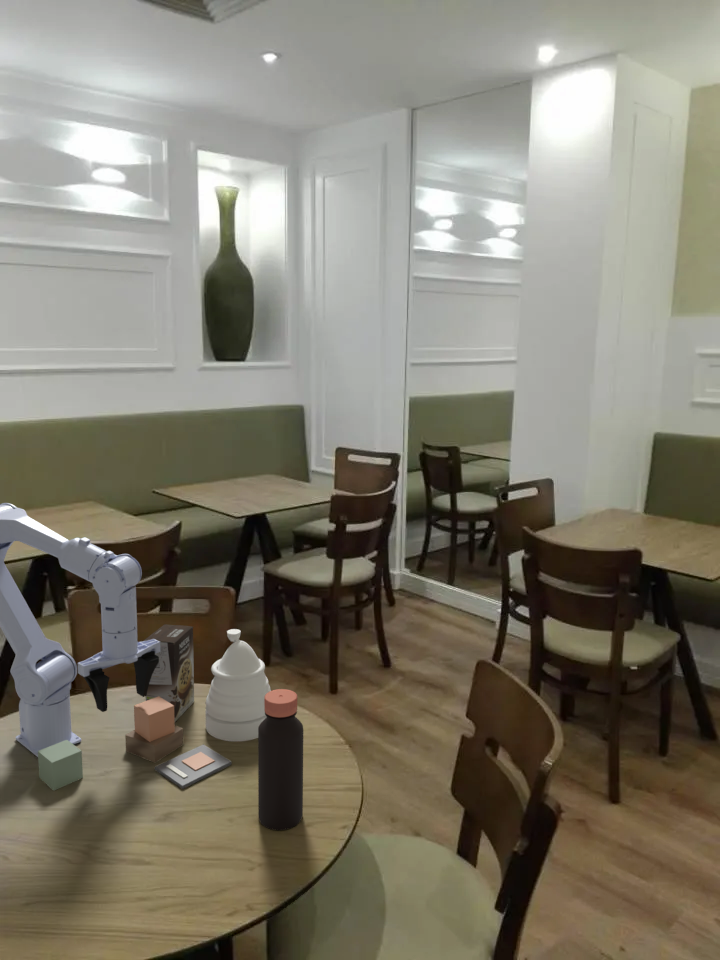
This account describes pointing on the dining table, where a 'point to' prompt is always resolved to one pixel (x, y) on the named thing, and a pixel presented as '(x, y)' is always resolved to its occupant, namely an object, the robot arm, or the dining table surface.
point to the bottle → (280, 762)
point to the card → (192, 766)
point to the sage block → (60, 764)
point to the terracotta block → (154, 718)
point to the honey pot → (236, 693)
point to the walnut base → (154, 745)
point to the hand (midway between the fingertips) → (122, 701)
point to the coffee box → (173, 667)
